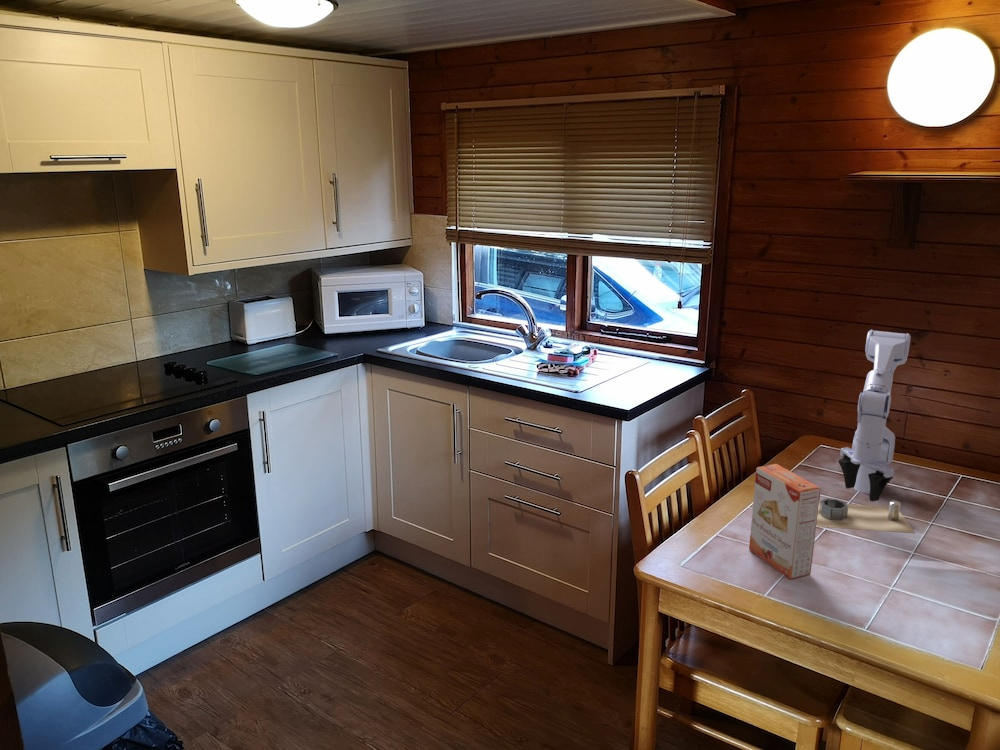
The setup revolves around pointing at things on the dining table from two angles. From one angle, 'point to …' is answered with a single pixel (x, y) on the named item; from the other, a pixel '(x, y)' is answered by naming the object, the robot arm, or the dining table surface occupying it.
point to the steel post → (894, 510)
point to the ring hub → (833, 509)
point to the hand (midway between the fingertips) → (861, 493)
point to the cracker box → (784, 520)
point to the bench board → (867, 520)
